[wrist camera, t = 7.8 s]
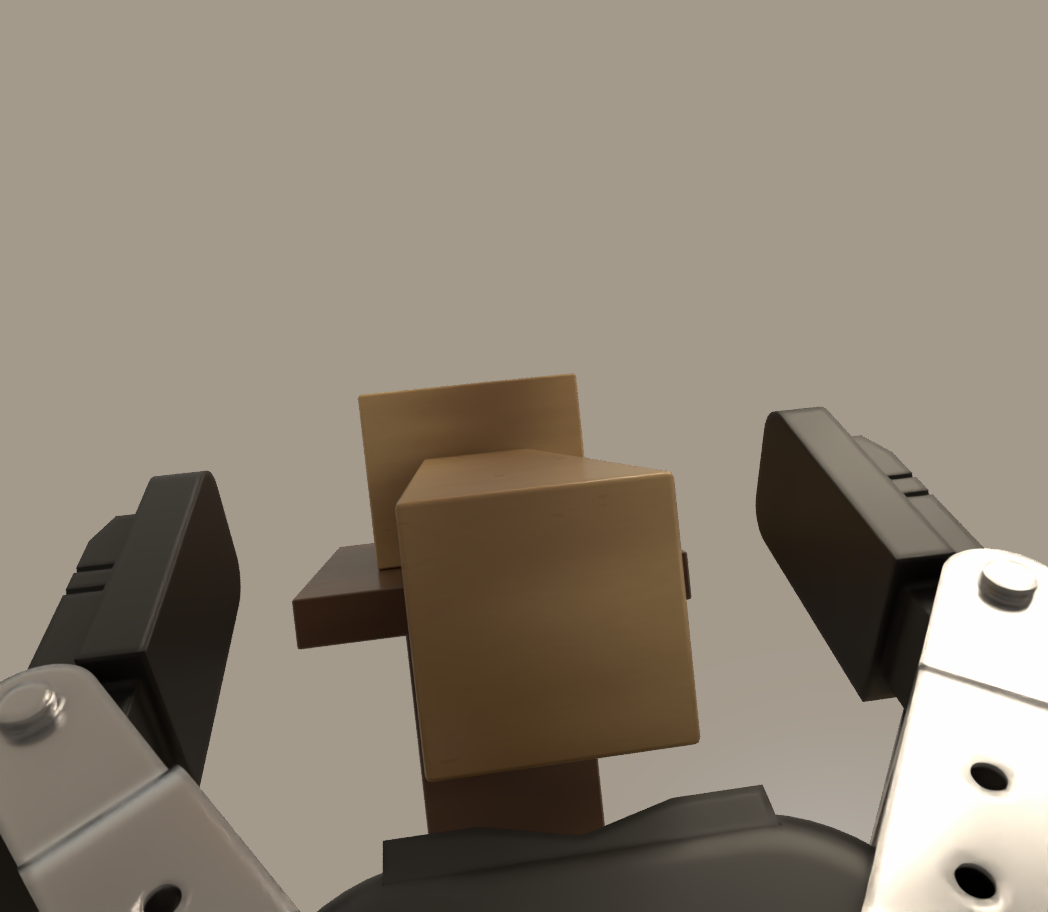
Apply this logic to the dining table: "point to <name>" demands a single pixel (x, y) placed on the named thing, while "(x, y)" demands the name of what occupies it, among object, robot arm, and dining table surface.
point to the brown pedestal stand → (380, 612)
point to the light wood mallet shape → (528, 579)
